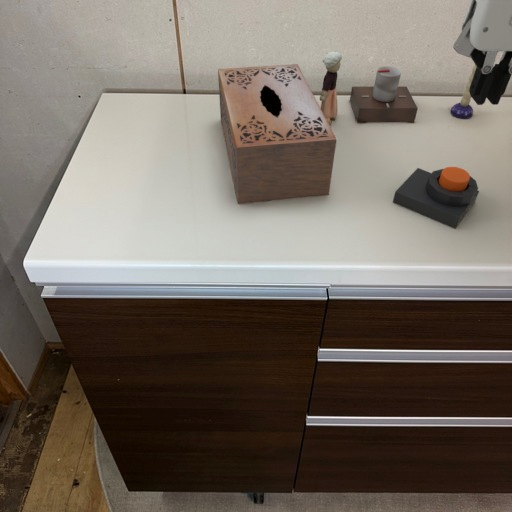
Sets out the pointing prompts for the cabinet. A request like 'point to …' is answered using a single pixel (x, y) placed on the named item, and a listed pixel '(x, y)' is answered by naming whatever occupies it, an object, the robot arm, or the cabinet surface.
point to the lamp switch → (454, 179)
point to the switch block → (435, 197)
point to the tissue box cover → (274, 134)
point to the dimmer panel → (382, 106)
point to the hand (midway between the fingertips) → (483, 99)
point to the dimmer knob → (386, 84)
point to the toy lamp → (464, 102)
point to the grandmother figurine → (330, 86)
